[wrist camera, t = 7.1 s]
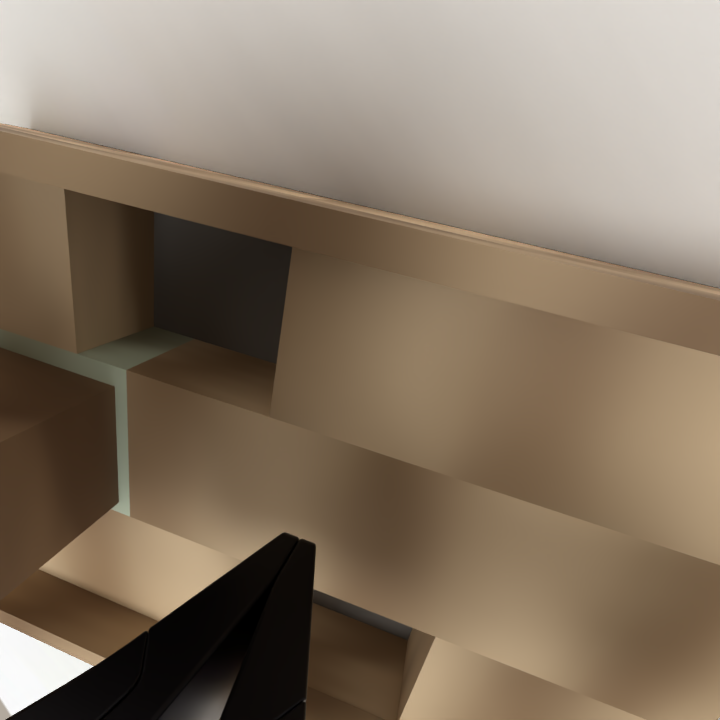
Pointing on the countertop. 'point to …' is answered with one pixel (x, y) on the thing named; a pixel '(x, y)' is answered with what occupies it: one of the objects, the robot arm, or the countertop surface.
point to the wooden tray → (377, 438)
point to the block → (51, 461)
